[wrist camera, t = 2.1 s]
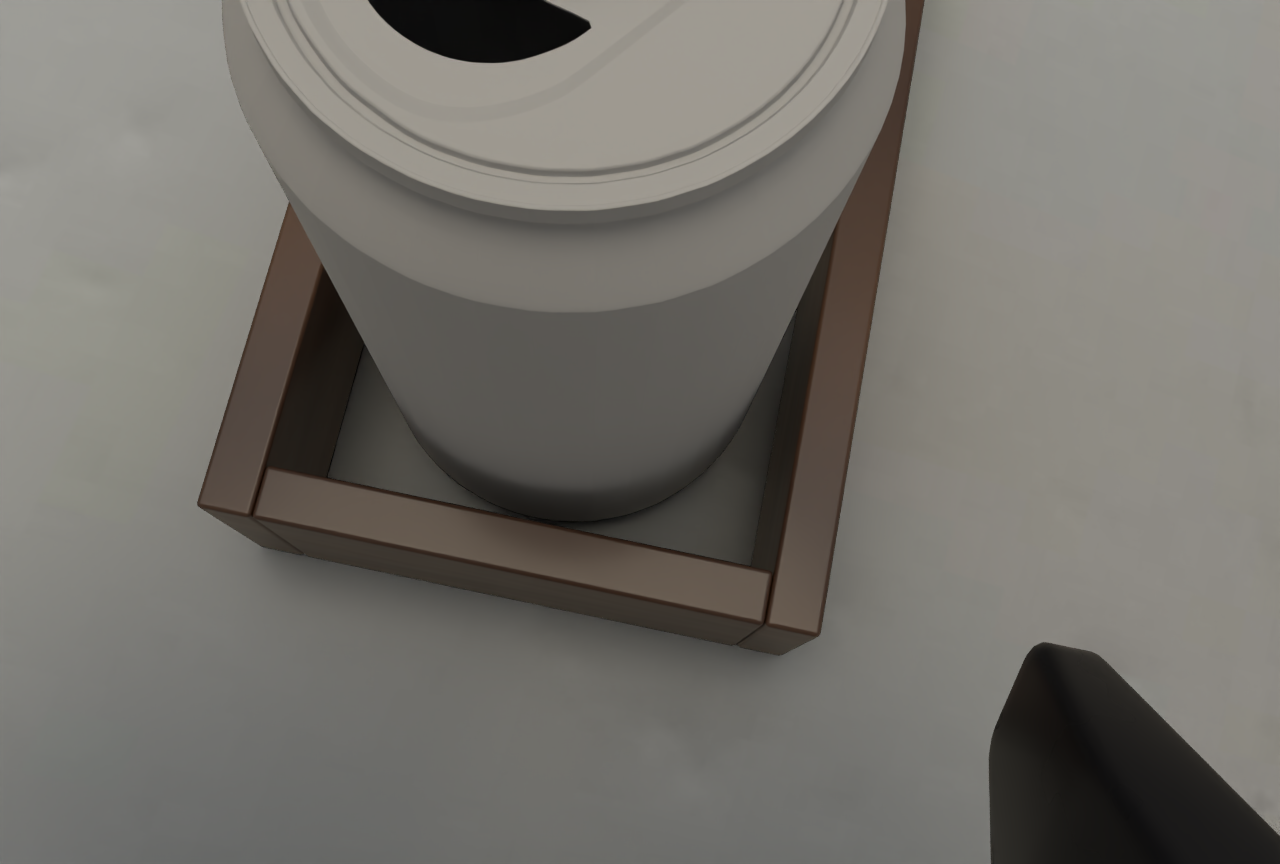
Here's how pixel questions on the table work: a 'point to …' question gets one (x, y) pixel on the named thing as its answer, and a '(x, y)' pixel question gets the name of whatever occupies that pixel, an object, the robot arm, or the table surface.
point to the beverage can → (568, 212)
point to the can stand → (543, 553)
